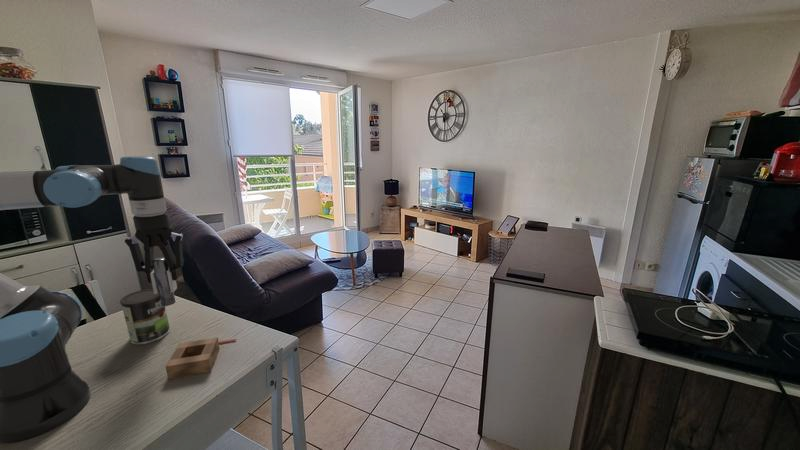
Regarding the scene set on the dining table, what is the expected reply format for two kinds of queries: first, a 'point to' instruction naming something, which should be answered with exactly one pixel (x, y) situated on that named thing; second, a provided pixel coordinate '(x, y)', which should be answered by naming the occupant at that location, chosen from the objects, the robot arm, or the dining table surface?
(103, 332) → the dining table surface
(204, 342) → the wooden square frame
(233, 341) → the thin red bar
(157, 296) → the coffee can
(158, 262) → the steel round rod
